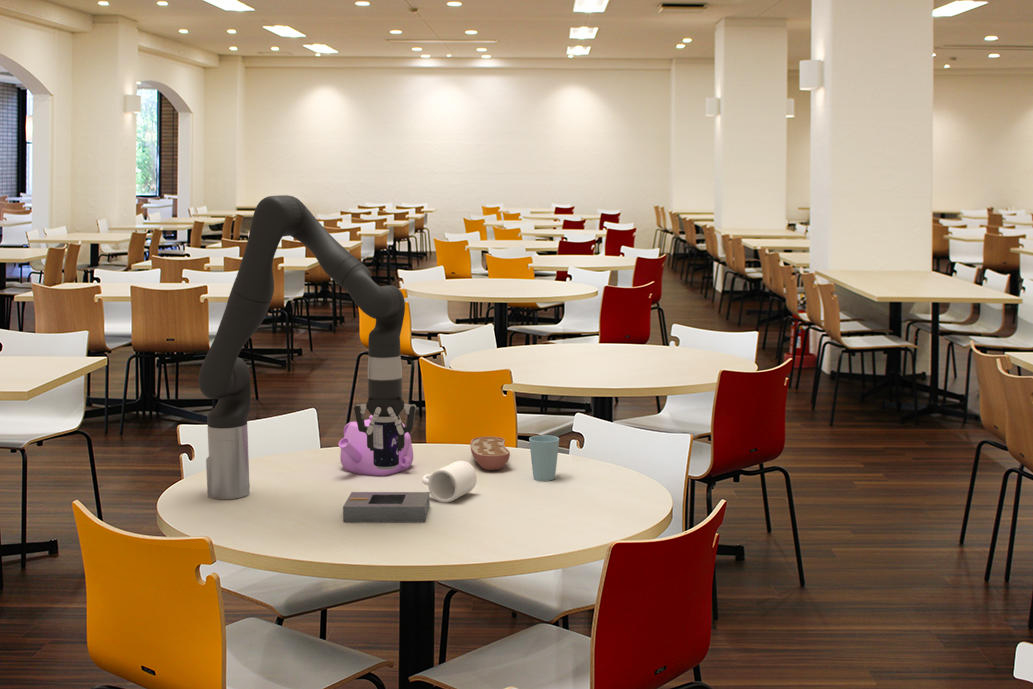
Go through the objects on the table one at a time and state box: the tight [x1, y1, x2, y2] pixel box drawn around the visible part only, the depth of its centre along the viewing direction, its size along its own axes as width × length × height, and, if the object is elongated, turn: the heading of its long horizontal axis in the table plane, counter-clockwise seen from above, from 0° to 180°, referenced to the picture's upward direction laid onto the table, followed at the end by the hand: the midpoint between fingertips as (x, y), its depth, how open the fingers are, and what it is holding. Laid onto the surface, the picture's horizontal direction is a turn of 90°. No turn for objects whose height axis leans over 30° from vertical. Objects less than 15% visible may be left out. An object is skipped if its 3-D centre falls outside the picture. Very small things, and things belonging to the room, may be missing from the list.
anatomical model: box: [469, 436, 511, 471], centre depth 289 cm, size 23×10×5 cm, turn 6°
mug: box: [421, 460, 478, 504], centre depth 256 cm, size 12×10×8 cm
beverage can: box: [373, 416, 399, 470], centre depth 239 cm, size 6×6×12 cm
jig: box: [342, 491, 431, 523], centre depth 241 cm, size 18×12×4 cm, turn 90°
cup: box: [528, 434, 560, 482], centre depth 272 cm, size 8×8×10 cm
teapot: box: [337, 414, 414, 477], centre depth 281 cm, size 19×21×14 cm
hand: (386, 449), depth 239 cm, fingers closed on beverage can, 5 cm apart
